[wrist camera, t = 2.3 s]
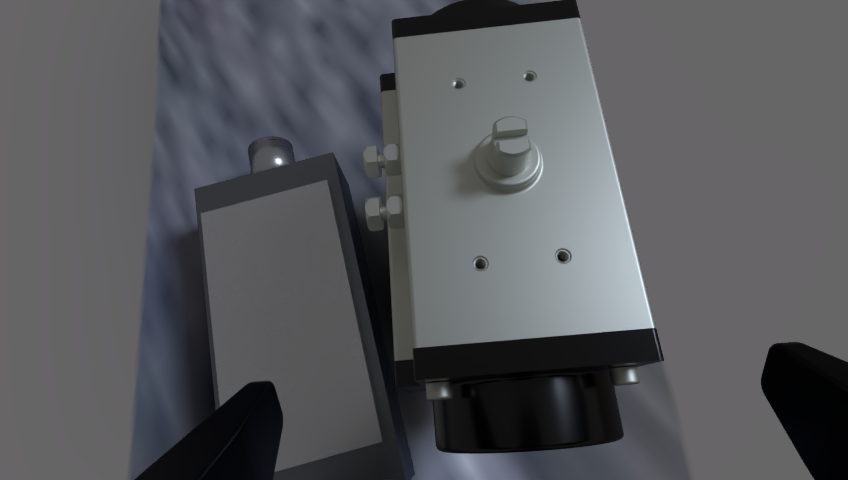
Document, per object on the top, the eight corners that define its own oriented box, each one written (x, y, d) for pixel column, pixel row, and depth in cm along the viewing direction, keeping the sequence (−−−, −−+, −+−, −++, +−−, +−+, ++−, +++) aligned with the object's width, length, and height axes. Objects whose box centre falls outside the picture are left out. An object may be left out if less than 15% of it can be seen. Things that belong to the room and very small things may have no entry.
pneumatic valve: (517, 163, 22) (576, -86, 11) (559, 425, 18) (720, 450, 7) (402, 174, 23) (347, -59, 11) (419, 436, 19) (359, 476, 7)
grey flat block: (414, 473, 18) (405, 488, 15) (264, 516, 18) (220, 540, 15) (340, 149, 23) (321, 107, 20) (223, 181, 23) (184, 143, 20)
